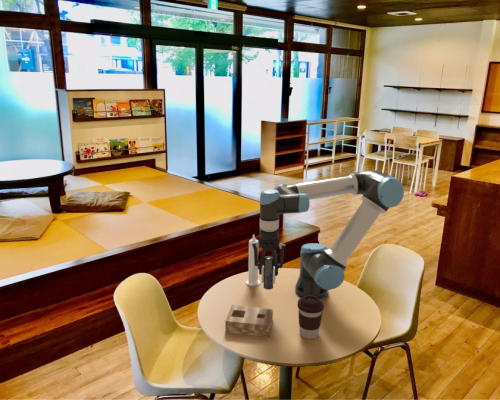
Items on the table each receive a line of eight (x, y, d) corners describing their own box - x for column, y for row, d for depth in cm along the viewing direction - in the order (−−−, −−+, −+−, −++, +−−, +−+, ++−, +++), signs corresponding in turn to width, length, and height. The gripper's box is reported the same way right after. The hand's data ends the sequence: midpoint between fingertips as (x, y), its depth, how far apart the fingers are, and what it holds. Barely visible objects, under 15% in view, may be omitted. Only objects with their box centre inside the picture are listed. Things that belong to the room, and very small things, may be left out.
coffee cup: (304, 323, 170) (306, 290, 165) (326, 333, 164) (329, 298, 159) (291, 334, 162) (292, 300, 158) (313, 344, 156) (315, 309, 152)
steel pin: (273, 285, 175) (274, 256, 172) (272, 289, 172) (273, 260, 168) (264, 284, 176) (264, 255, 172) (262, 289, 172) (263, 260, 168)
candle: (258, 287, 198) (259, 237, 191) (244, 285, 200) (244, 236, 193) (261, 280, 205) (262, 232, 198) (247, 279, 206) (247, 231, 199)
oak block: (272, 319, 172) (272, 309, 170) (268, 337, 160) (269, 325, 159) (231, 315, 174) (231, 304, 173) (225, 332, 163) (225, 320, 162)
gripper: (291, 226, 169) (289, 279, 175) (249, 224, 171) (249, 276, 178) (289, 233, 161) (288, 287, 168) (246, 230, 164) (246, 284, 171)
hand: (268, 281), depth 173 cm, fingers closed on steel pin, 4 cm apart
